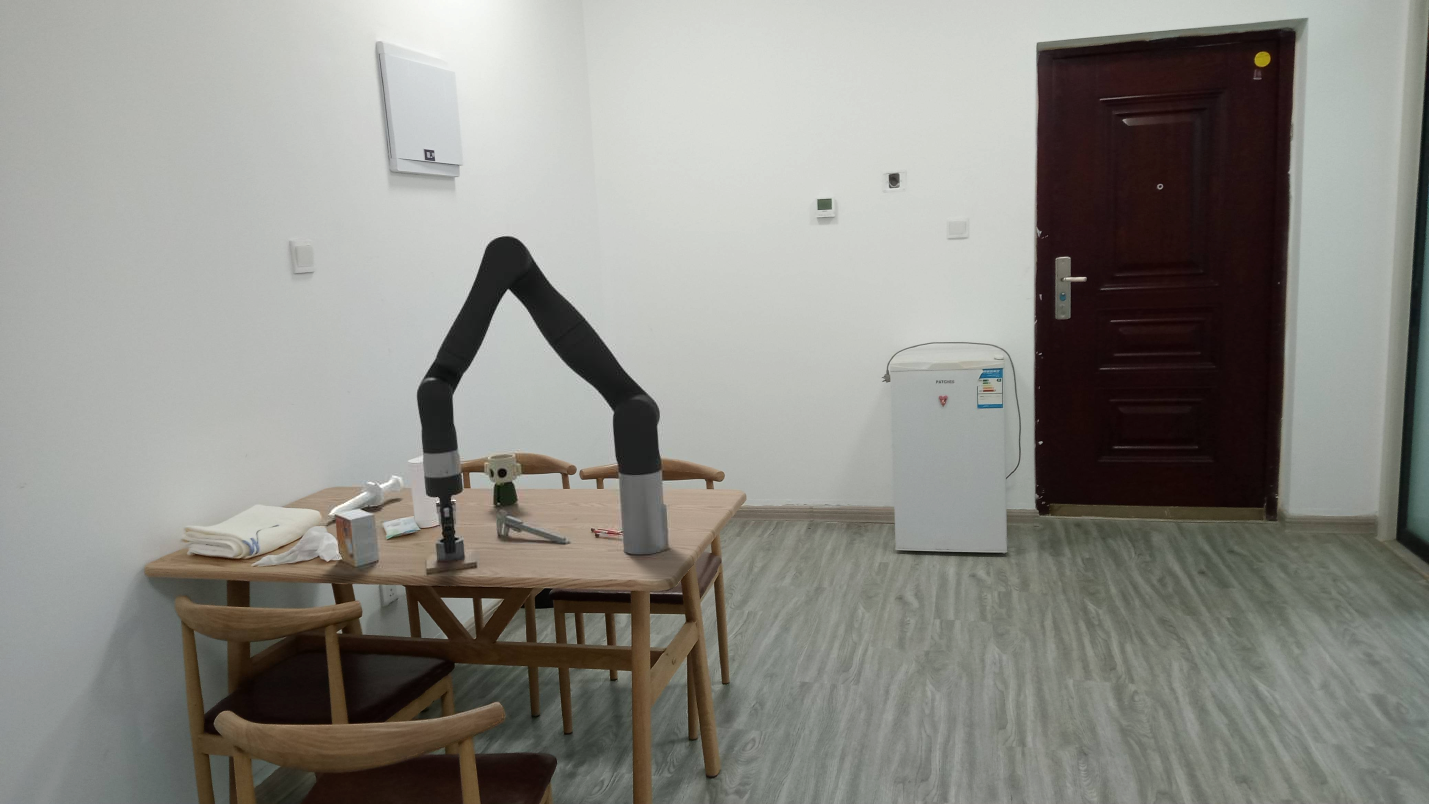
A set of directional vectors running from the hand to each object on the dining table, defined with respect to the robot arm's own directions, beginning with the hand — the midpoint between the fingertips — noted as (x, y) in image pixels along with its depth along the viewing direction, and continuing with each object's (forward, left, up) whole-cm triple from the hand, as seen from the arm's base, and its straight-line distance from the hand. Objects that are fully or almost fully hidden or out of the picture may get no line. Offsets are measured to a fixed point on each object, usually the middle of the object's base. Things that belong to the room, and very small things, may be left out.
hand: (450, 547), depth 198 cm
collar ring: (0, 0, -2) cm, 2 cm away
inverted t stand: (0, 0, -3) cm, 3 cm away
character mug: (-15, -44, -3) cm, 47 cm away
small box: (+19, -11, -4) cm, 22 cm away
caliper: (-18, -10, -4) cm, 21 cm away
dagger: (+20, -57, -4) cm, 61 cm away
